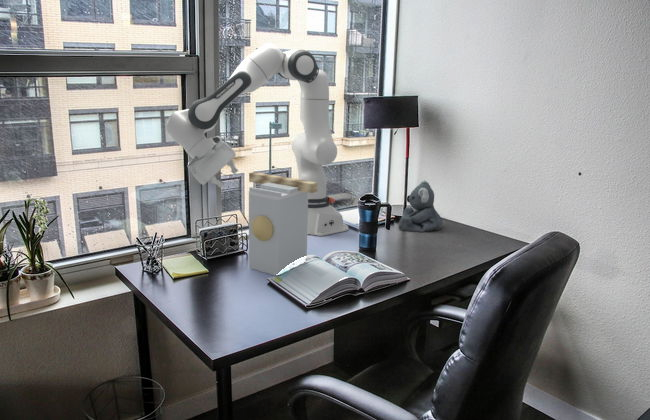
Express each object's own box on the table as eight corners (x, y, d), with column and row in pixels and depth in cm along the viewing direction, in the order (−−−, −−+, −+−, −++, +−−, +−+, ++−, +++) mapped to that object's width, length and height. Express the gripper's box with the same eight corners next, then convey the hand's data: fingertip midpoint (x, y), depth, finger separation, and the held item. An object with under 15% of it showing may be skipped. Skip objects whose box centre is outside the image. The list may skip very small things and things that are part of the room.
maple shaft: (249, 181, 185) (249, 173, 184) (254, 180, 188) (254, 171, 187) (312, 193, 172) (312, 183, 171) (317, 191, 174) (317, 182, 173)
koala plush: (402, 220, 240) (405, 177, 235) (443, 224, 236) (447, 180, 231) (397, 231, 224) (400, 185, 219) (441, 235, 220) (445, 188, 215)
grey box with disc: (247, 268, 177) (246, 188, 170) (278, 254, 191) (279, 179, 184) (276, 277, 171) (276, 193, 164) (306, 262, 185) (308, 184, 178)
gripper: (189, 160, 184) (218, 190, 186) (221, 133, 198) (248, 161, 201) (181, 169, 188) (209, 198, 190) (213, 142, 203) (239, 169, 205)
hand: (229, 179), depth 196 cm, fingers open, 8 cm apart
